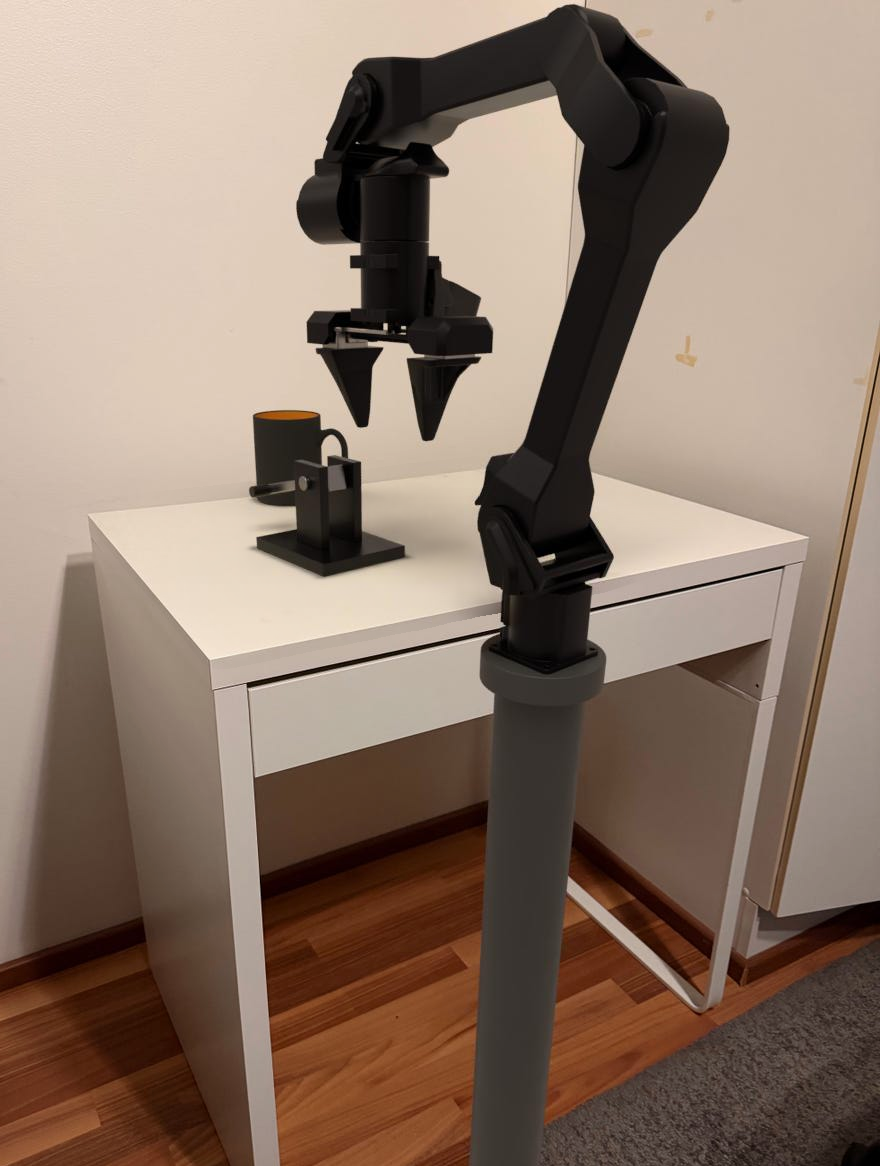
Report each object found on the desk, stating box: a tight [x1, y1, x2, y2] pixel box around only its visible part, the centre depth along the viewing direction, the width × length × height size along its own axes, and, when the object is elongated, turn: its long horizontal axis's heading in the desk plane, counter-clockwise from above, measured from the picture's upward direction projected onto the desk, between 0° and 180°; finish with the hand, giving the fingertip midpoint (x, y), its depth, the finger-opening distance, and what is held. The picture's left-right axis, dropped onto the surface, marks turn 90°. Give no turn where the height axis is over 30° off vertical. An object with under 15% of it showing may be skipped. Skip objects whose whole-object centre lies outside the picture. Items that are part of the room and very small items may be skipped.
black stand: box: [255, 454, 406, 577], centre depth 87 cm, size 12×10×9 cm
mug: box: [252, 409, 349, 507], centre depth 108 cm, size 8×12×10 cm
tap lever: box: [248, 465, 347, 498], centre depth 90 cm, size 13×5×2 cm, turn 40°
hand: (394, 433), depth 78 cm, fingers open, 9 cm apart
